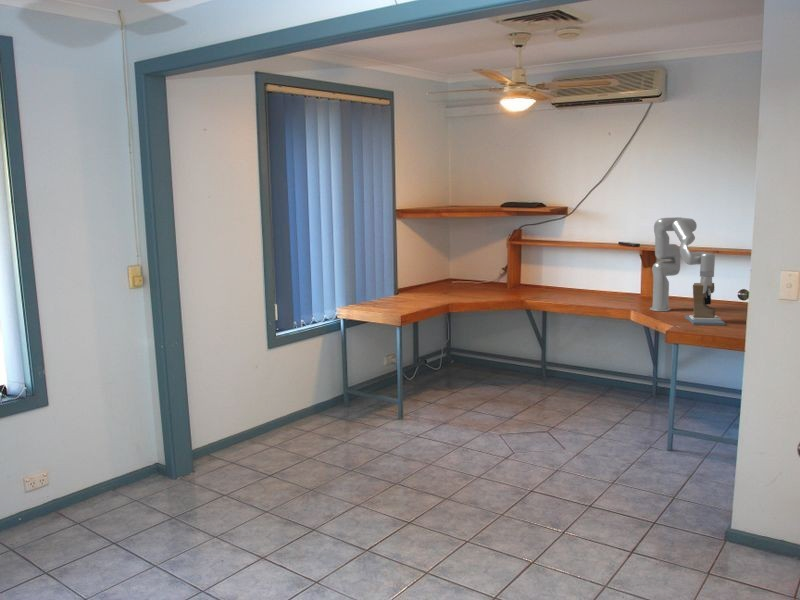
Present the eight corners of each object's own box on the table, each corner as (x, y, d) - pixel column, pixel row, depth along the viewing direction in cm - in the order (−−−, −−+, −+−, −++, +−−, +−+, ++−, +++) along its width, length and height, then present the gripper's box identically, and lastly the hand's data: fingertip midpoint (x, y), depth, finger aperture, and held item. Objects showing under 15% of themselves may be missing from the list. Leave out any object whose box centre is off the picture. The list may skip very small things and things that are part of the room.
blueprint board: (684, 317, 414) (684, 313, 414) (714, 317, 411) (714, 313, 411) (693, 324, 391) (693, 320, 391) (725, 325, 388) (725, 321, 387)
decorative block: (715, 315, 401) (714, 282, 397) (714, 318, 396) (713, 285, 392) (695, 315, 407) (694, 282, 403) (693, 317, 402) (692, 285, 398)
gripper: (696, 272, 407) (695, 300, 409) (703, 275, 390) (702, 305, 393) (710, 272, 405) (708, 300, 408) (717, 276, 389) (716, 305, 391)
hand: (705, 303), depth 400 cm, fingers open, 9 cm apart
